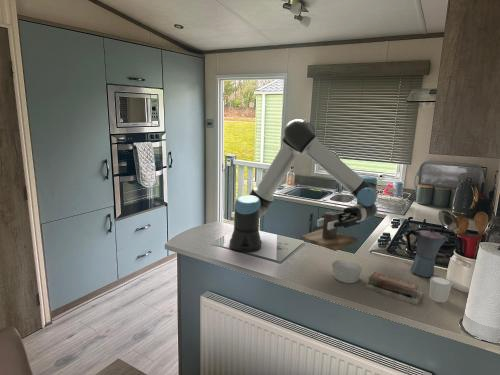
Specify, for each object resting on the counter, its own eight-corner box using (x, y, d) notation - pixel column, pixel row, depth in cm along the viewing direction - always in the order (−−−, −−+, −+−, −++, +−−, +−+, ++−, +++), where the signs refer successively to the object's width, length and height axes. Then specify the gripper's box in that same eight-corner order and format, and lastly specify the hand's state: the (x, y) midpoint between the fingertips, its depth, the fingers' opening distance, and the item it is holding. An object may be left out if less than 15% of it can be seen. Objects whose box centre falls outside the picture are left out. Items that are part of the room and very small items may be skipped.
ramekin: (327, 280, 133) (329, 267, 132) (334, 269, 143) (336, 257, 142) (357, 287, 128) (359, 274, 127) (362, 276, 138) (364, 263, 137)
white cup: (426, 299, 122) (429, 281, 120) (428, 291, 127) (431, 274, 126) (448, 306, 118) (452, 287, 117) (449, 297, 124) (452, 279, 123)
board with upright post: (300, 239, 138) (302, 212, 136) (323, 231, 149) (325, 206, 147) (335, 251, 127) (338, 222, 124) (357, 241, 138) (360, 214, 136)
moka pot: (445, 281, 137) (453, 233, 133) (403, 275, 140) (410, 229, 136) (437, 271, 146) (445, 226, 142) (398, 266, 149) (405, 222, 145)
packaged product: (366, 276, 127) (375, 268, 135) (364, 288, 128) (373, 279, 136) (419, 293, 117) (425, 283, 125) (416, 306, 118) (423, 295, 126)
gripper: (371, 228, 143) (341, 240, 127) (335, 218, 155) (304, 228, 139) (373, 210, 142) (343, 220, 126) (337, 202, 154) (305, 210, 138)
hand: (323, 224), depth 133 cm, fingers closed on board with upright post, 4 cm apart
